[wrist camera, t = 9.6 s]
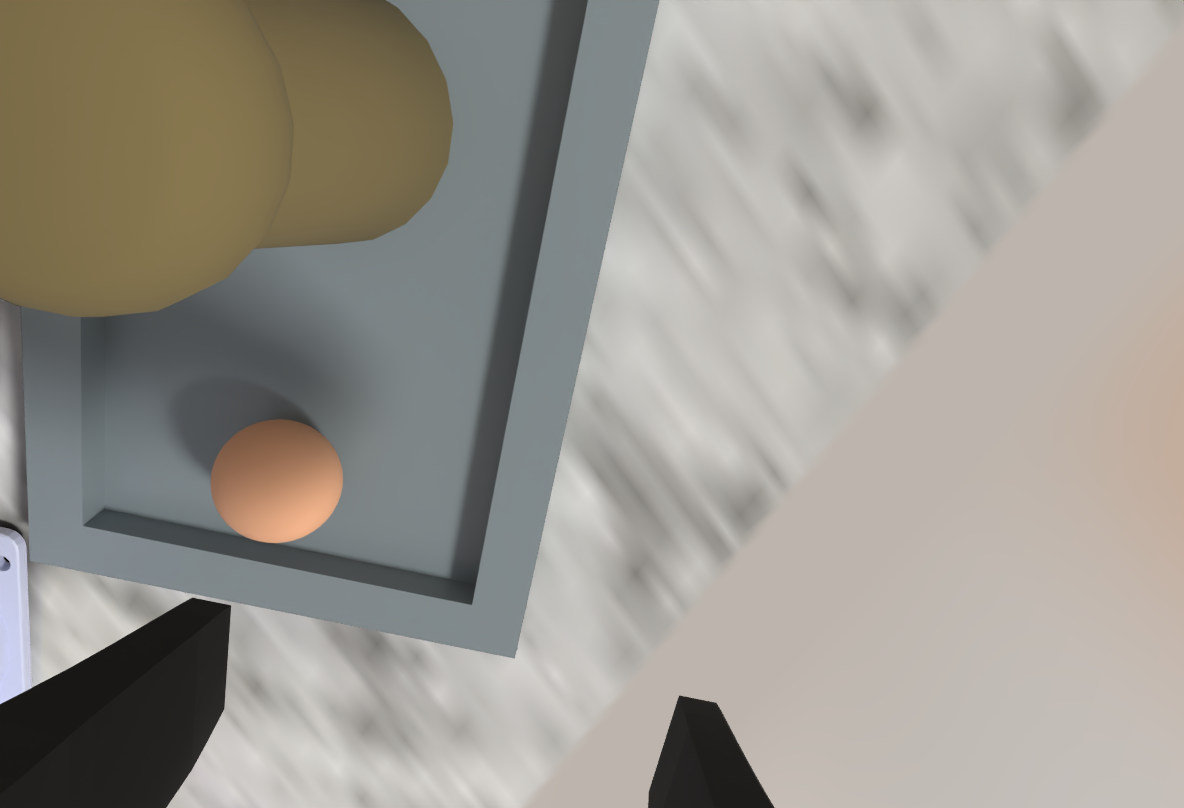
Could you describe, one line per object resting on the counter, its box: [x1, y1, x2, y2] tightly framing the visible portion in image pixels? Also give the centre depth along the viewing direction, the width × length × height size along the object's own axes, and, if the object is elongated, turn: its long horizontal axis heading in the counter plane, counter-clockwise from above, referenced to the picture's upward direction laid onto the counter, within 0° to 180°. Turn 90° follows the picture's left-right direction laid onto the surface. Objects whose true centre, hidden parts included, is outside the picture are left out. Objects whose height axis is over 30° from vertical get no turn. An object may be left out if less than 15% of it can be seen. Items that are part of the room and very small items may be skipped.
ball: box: [211, 419, 343, 543], centre depth 21 cm, size 3×3×3 cm
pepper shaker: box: [0, 0, 453, 317], centre depth 14 cm, size 6×6×11 cm
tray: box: [21, 0, 659, 658], centre depth 20 cm, size 20×14×2 cm
